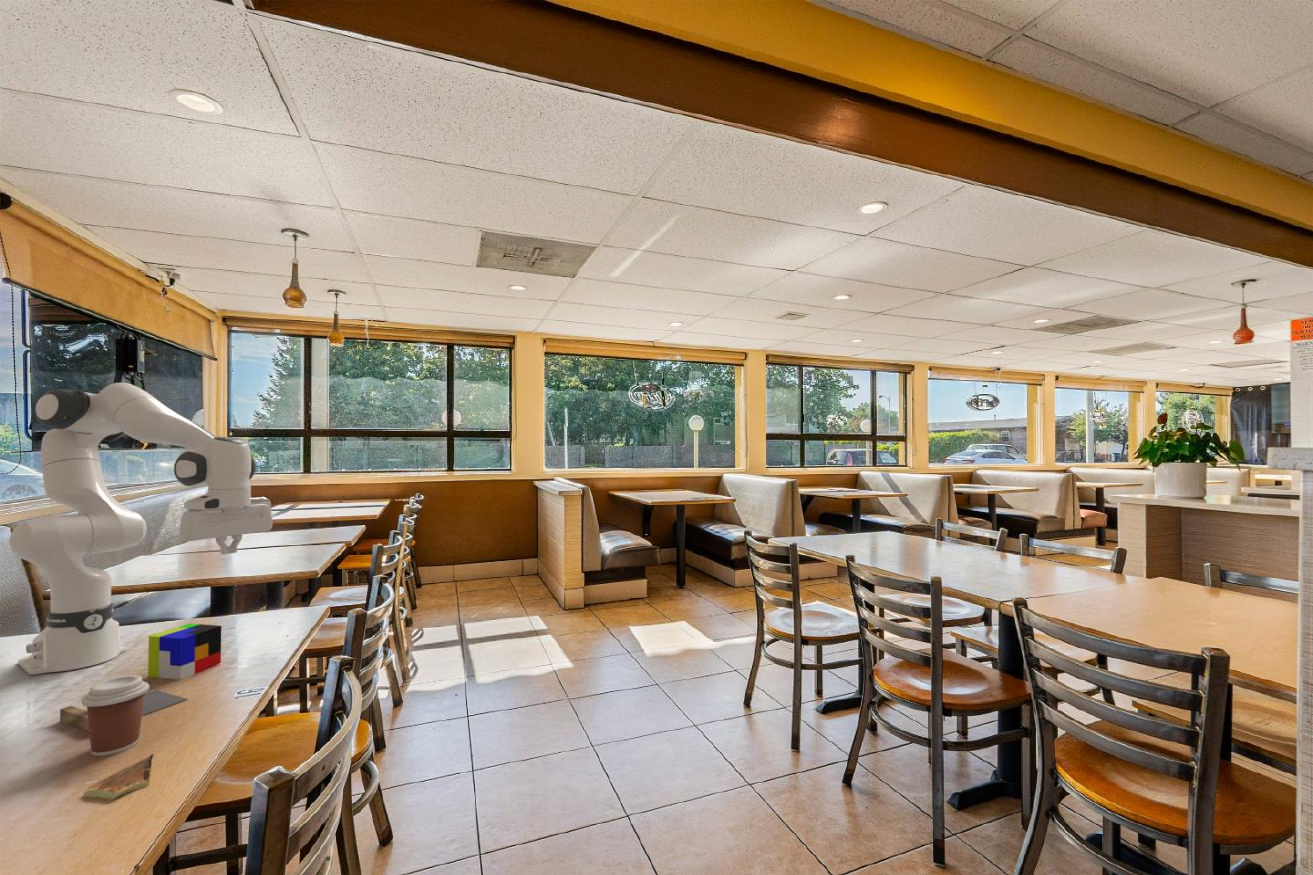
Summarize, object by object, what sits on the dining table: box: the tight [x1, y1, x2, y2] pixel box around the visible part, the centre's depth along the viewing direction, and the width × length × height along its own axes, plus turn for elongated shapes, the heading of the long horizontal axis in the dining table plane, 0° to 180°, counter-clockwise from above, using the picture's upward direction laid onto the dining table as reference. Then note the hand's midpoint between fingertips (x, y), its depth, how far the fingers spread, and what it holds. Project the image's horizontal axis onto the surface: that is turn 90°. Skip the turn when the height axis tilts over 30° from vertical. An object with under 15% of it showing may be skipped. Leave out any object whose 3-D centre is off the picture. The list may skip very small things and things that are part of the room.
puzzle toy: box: [147, 623, 222, 680], centre depth 140 cm, size 10×10×10 cm
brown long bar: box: [59, 705, 89, 732], centre depth 112 cm, size 14×2×2 cm, turn 68°
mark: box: [142, 689, 189, 717], centre depth 120 cm, size 12×12×1 cm
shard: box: [83, 753, 154, 800], centre depth 94 cm, size 11×8×2 cm
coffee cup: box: [81, 674, 150, 757], centre depth 104 cm, size 9×9×12 cm
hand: (228, 553), depth 142 cm, fingers closed
